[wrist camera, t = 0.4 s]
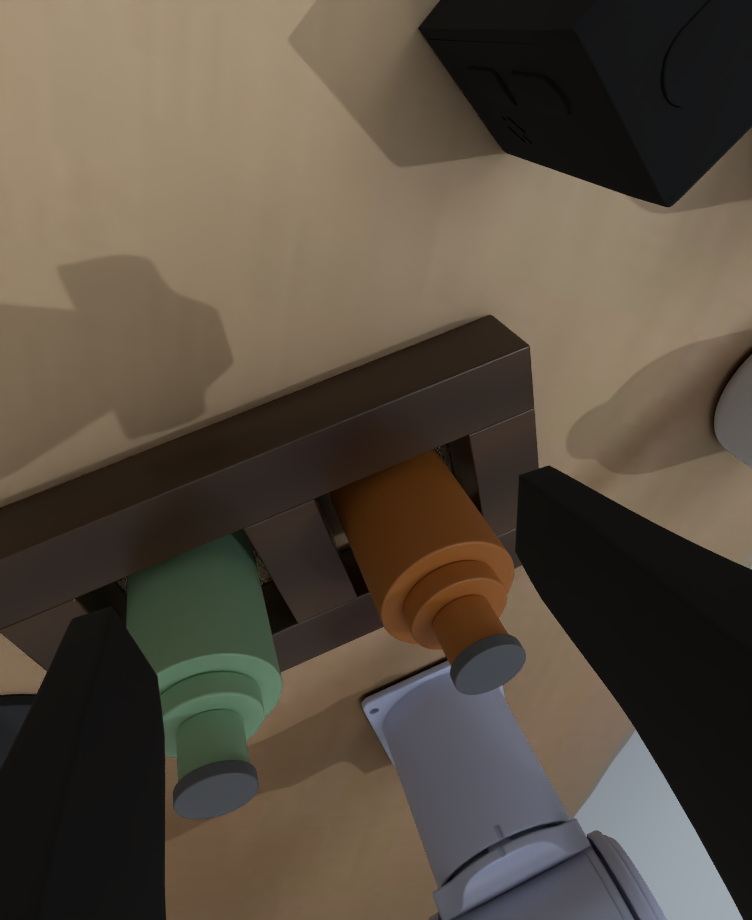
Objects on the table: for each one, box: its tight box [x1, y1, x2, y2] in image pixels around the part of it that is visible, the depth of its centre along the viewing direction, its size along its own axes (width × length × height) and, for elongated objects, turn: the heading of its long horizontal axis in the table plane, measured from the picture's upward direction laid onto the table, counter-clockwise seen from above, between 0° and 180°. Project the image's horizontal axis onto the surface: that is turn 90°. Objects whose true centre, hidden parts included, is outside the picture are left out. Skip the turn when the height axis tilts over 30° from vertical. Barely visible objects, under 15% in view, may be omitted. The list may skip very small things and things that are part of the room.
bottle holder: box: [0, 315, 539, 672], centre depth 22 cm, size 11×19×3 cm, turn 104°
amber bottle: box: [330, 449, 526, 695], centre depth 20 cm, size 5×5×9 cm
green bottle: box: [126, 529, 283, 819], centre depth 19 cm, size 5×5×9 cm
